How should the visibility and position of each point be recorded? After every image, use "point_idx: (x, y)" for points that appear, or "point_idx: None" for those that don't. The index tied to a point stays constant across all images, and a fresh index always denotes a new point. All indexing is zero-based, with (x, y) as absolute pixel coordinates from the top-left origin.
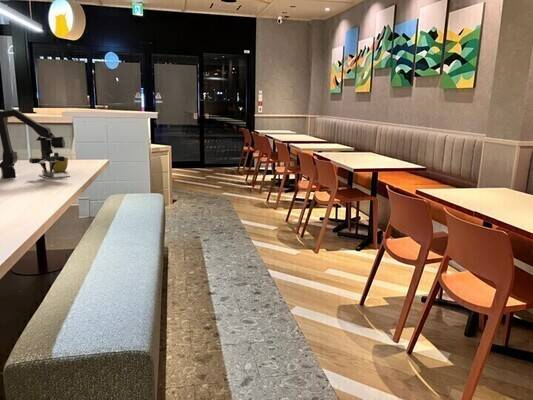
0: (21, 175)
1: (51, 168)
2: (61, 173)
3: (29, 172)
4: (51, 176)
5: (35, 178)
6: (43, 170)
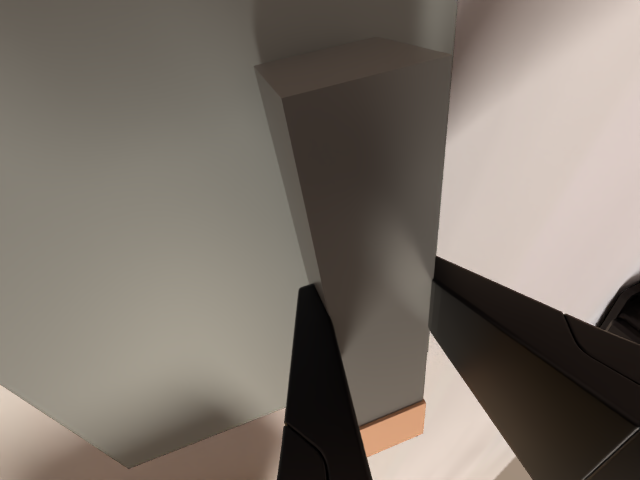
0: None
1: (340, 392)
2: (100, 424)
3: (420, 460)
4: None
5: (553, 152)
6: (424, 400)
